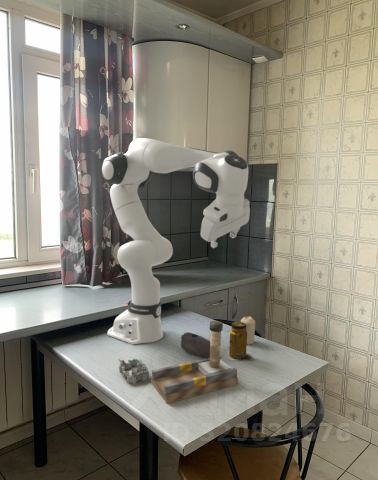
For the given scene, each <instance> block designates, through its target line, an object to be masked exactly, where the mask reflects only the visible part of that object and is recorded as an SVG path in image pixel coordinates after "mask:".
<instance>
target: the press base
mask: <svg viewBox="0 0 378 480" xmlns="http://www.w3.org/2000/svg"><path fill="white" fill-rule="evenodd" d="M220 359H221V360H222V356H221V355H220ZM206 361H210V358H203V359H197V360H194V361H193V360H191V361H189V362H185V363H184V362H183V363H178V364H174V365H169V366H166V367H161V368H157V369H156V368H155V369H152V370H151V376H150V384H151V385H152V387H153V388H154V389H155V390H156V391H157V392H158V394H159V395H160V397H161V398H162V400H163V401H164V402H165V403H166V404H169V403H172V402H173V403H174V402H176V401H177V402H178V401H180V400H184V399H189V398H192V397H196V396H199V395H203V394H206V393H209V392H213V391H214V390H215V391H218V390H222V389H225V388H229V387H233V386H237V385H239V377H238V368H236V367H234V368H231V369H229V370H224V371H220V372H216V373H212V374H208V375H203V374H202V373H201V372H200V371H199V370H198V363H202V362H206Z"/></svg>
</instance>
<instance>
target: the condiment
mask: <svg viewBox="0 0 378 480" xmlns="http://www.w3.org/2000/svg"><path fill="white" fill-rule="evenodd" d="M230 328H231V329H230V331H229V347H228V349H229V350H226V353H227V356H228V359H229V360H230V361H233V362H234V361H237V362H239V361H253V360H254V361H255V358H254V357H253V355H252V353H251V352H250V351H249V350H247V331H246V330H247V329H246V324H245V323H243V322H241V321H234V322H232V323H231V327H230Z"/></svg>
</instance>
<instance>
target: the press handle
mask: <svg viewBox="0 0 378 480" xmlns="http://www.w3.org/2000/svg"><path fill="white" fill-rule="evenodd" d="M223 327H224V323H223V322H222V321H219V320H211V321H210V322H209V331H210V340H209V341H210V361H206V362H202V363H198V370H199V371H200V372H201V373H202V374H203V375H208V374H212V373H216V372H220V371H224V370H229V369H232V367H231V366H229V365H228V364H227V363H226V362H225V361H223V360H222V358H221V359H220V356H221V341H222V340H221V339H222V332H223Z"/></svg>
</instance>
